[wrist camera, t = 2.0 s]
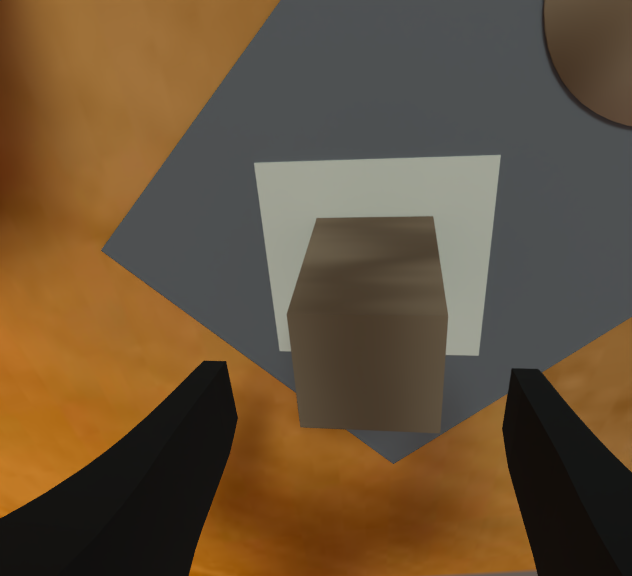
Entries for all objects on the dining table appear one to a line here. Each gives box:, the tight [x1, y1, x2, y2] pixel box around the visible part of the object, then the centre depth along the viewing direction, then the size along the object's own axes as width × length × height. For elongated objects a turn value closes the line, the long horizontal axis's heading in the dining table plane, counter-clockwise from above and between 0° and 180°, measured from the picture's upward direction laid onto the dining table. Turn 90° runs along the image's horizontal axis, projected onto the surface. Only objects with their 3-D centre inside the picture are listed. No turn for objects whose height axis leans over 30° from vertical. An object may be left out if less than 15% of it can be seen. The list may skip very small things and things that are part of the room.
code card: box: [254, 155, 501, 356], centre depth 19 cm, size 8×8×1 cm
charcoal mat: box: [101, 0, 632, 464], centre depth 17 cm, size 16×24×1 cm, turn 139°
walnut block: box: [287, 216, 448, 433], centre depth 17 cm, size 4×4×6 cm
